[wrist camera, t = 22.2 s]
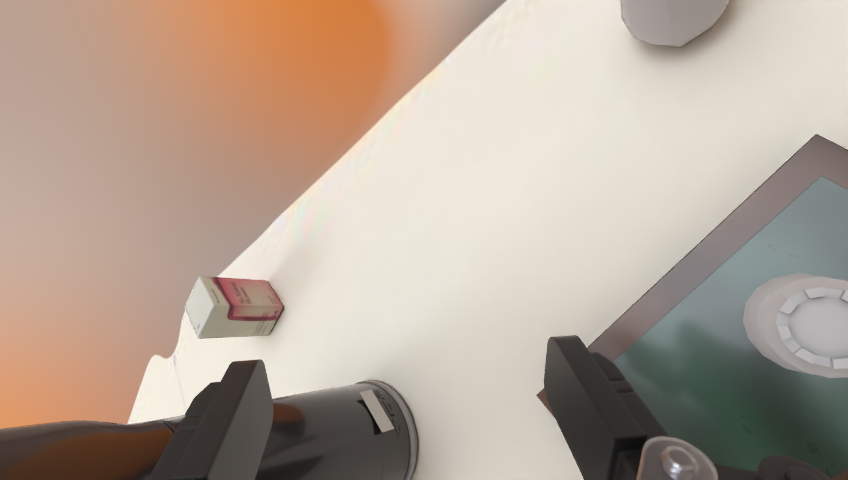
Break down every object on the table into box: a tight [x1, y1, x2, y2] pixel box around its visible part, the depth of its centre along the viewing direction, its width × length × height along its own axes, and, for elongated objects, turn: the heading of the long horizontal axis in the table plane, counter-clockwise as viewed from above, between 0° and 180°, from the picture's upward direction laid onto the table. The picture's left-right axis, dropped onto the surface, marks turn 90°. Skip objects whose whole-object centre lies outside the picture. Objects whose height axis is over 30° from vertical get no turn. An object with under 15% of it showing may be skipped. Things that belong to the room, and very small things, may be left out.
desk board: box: [537, 134, 848, 480], centre depth 21 cm, size 20×12×2 cm, turn 133°
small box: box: [185, 276, 283, 339], centre depth 45 cm, size 5×4×8 cm
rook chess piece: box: [743, 274, 848, 378], centre depth 16 cm, size 4×4×8 cm
